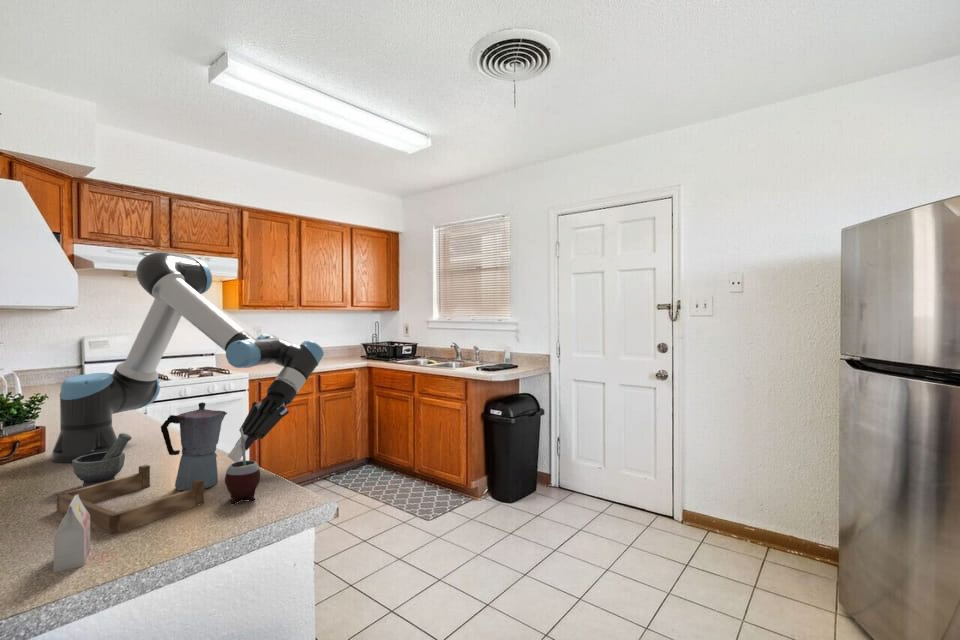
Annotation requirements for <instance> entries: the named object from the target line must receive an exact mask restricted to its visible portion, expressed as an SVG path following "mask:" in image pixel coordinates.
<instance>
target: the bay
mask: <svg viewBox="0 0 960 640" xmlns="http://www.w3.org/2000/svg"><path fill="white" fill-rule="evenodd" d="M150 468H151V465H149V464H144V465H139V466H138V472H137V473H134V474H130V475H126V476H123V477H118V478H115V479H114V480H110V481H106V482H103V483H99V484H95V485H91V486H87V487H84V488H82V487H80V488H77V489H74V490H73V489H72V490H70V491H65V492H61V493H58V494H56V512H57V511H58V513H60V514H63V515H64V516H65V515H66V513H67V510H68V507H69V505H70V504H71V502H72V500H73V498H74V496H75V495H79V498H80V500H81V502H82V504H83V506H84V507H85V508H86V510H87V511H88V513H89V514H90V527H94V528H95V529H97V530H101V531H103V532H105V533H107V534H110V535H112V536H113V535H116V534H119V533H121V532H124V531H128V530H130V529H134V528H135V527H138V526H141V525H145V524H147V523H151V522H152V521H156V520H158V519H162V518H164V517H168V516H170V515H172V514H175V513H178V512H180V511H181V512H182V511H184V510H187V509H190V508H192V507H195V505H197V506H199V504H200V505H202V504H204V503H205V501H204V500H205V499H204V498H205V497H204V496H205V494H204V493H205V490H204V480H201V479H198V480H195V481H192V489H189V490H182V491H180V492H177V493H174V494H169V495H168V496H165V497H161V498H158V499H155V500H152V501H149V502H145V503H142V504H140V505H136V506H133V507H129V508H127V509H123V510H121V511H117V512H116V511H114V510H111V509H108V508H105V507H103V506H101V505H97V504H95V503H96V502H100V501H103V499H104V500H106V499H107V500H108V499H110V497H111V498H113V497H116V496H117V497H118V496H120V495H124V494H128V493H131V492H134V491H138V490H142V489H145V488H149V487H150V486H151V484H150V483H151V469H150Z"/></svg>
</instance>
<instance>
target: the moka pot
mask: <svg viewBox="0 0 960 640" xmlns="http://www.w3.org/2000/svg"><path fill="white" fill-rule="evenodd" d="M205 406H206V402H200V403H198V409H195V410H192V411H186V412H182V413H180V414H177V415H175V414H174V415H173V414H170V415H169V416H168V417H167V419H166V420H165V421H164V422H163V424H161V425H160V431H161V433H162V436H163V440H164V443H165V446H166V449H167V453H168V455H169V456H178V455H180V452H181V454H182V455H181V457H180V461H179V465H178V469H177V474H176V479H175V482H174V487H175V489H177V490H178V491H186V490H189V489H192V481H195V480H198V479H201V480H204V489H205V490H206V489H207V488H212V487H214V486H216V485H217V484H218V482H219V476H218V463H217V461H218V460H217V457H218V455H217V453H216V451H217V445H218V444H219V439H220V435H221V433H220V432H221V430H222V423H223V421H224V418H225V416H226V415H228V412H226V411H224V410H214V409H206V408H205ZM170 424H179V432H180V433H179V434H180V445H181V450H180V449H177V450H174V447H173V445H172V439H171V438H170V437H171V436H170V432H169V429H168V427H169V425H170Z"/></svg>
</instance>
